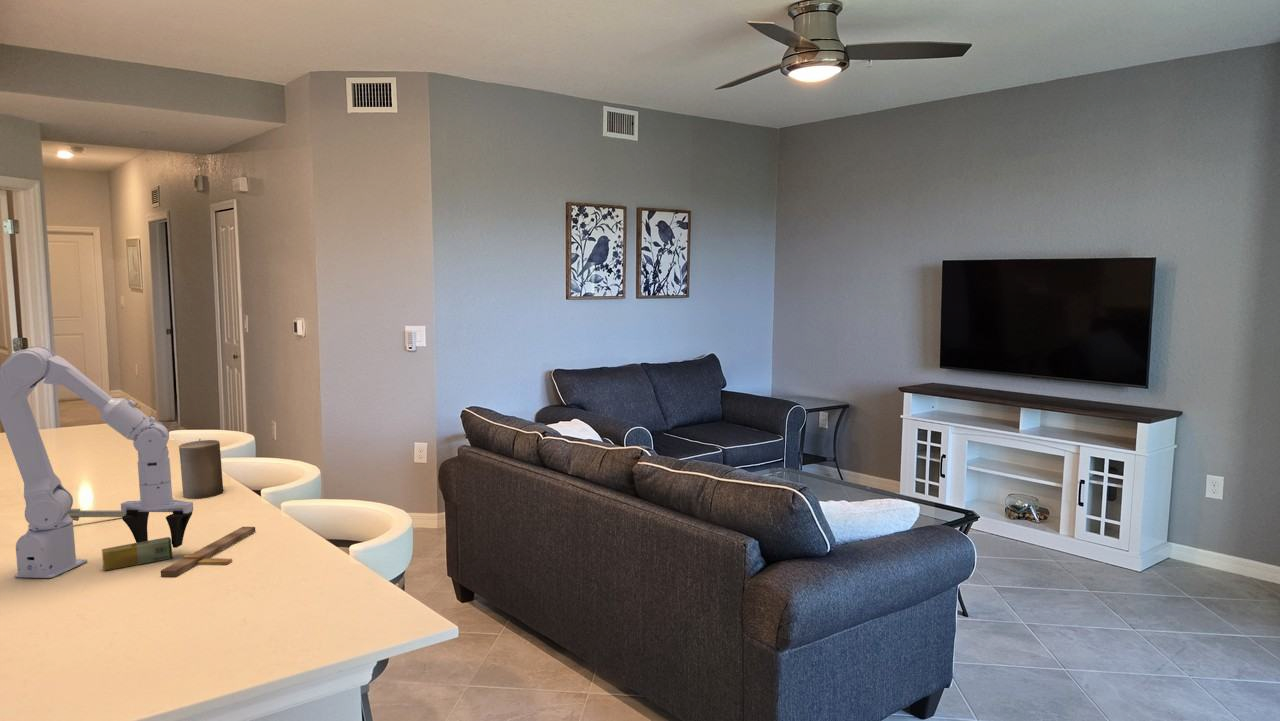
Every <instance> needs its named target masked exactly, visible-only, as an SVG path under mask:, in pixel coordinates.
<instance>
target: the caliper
mask: <svg viewBox="0 0 1280 721" xmlns="http://www.w3.org/2000/svg"><path fill="white" fill-rule="evenodd" d="M67 513H68V514H69V516H70V517H71V518H72V519H73V521H79V520H80V518H122V517H123V516H124V515H126V513H122V512H121V509H119V510H116V509H115V510H111V509H110V510H108V509H107V510H106V509H105V510H103V509H102V510H99V509H98V510H94V509H93V510H88V509H87V510H81V508H71V509H70V510H69V511H68V512H67Z"/></svg>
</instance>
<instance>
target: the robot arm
mask: <svg viewBox="0 0 1280 721" xmlns="http://www.w3.org/2000/svg"><path fill="white" fill-rule="evenodd" d="M41 381H42V384H47V385H57V386H63V387H65V389H68V390H69V391H71V392H72V393H74V394H75V395H76V396H78V397H80V398H81V399H82V400H84V401H86V402H87V403H88V404H90V405H92V406H93V407H94V408H95V409H98V410H99V413H100V420H101V421H103V423H105V424H106V425H107V426H109V427H111V429H113V430H114V431H116V432H117V433H118V434H120V435H121V436H123V437H124V438H125V439H126V440H129V441H132V444H133V448H134V449H135V450H136V451H137V460H138V461H137V471H138V472H137V474H138V483H139V484H138V486H139V489H138V490H139V500H126V501H124V502H121V503H120V510H121V512H122V513H126V515H124V516H123V517H121V518H122V521H123V522H124V523H125V524H126V525H127V527H128V528H129V530H130V532H131V533H132V536H133V538H134V541H135V543H138V542H144V541H149V536H148V534H149V533H148V521H149V516H150V513H171V514H168V515H167V516H165V520H166V522H167V525H168V526H169V528H168V529H169V530H170V532H169V533H170V538H171V544H172V549H173V548H174V549H177V548H179V547H181V546H183V541H184V536H185V532H186V528H187V525H188V523H189V520H190V519H191V517H192V515H193V512H194V503H193V501H185V500H180V499H179V500H177V499H174V498H173V490H172V489H173V487H172V474H171V473H172V472H171V459H170V457H169V452H170V451H169V448H168V446H167V444H168V442H169V438H170V432H169V430H168V428H167V427H166V426H165V425H164V423H162V422H161V421H156V418H155V417H153V416H148V415H147V414H145V413H144V412H143V411H142V410H140V409H139V408H138V407H136V406H135V405H136V404H137V403H136V402H135V401H134V400H133V399H129V400H127V399H126V398H123V397H117V398H114V397H112V396H110V395H109V394H108V393H107V392H105V390H103V389H102V388H101V387H99V385H97V384H96V383H95V382H93V381H92V380H91V379H90V378H88V376H86V375H85V374H84V373H82V372H81V371H80V370H79V369H78V368H76V366H74V365H72V364H71V363H70V362H69V361H68V360H66V359H65V358H63V357H61V356H60V355H57V354H56V355H55V353H54V351H52V350H50V349H49V348H47V347H46V346H40V345H35V346H29V347H28V348H25V349H20V350H17V351H15V352H13V353H12V354H11V355H10V356H8V358H6V360H5V361H4V362H3V363H2V364H1V365H0V422H1V424H2V428H3V430H4V433H5V435H6V439H7V440H8V443H9V447H10V449H11V451H12V454H13V457H14V460H15V462H16V465H17V467H18V468H17V469H18V470H19V473H20V476H21V479H22V482H23V499H24V500H25V508H24V518H25V521H26V523H28V526H27V527H28V528H27V531H26V533H25V534H23V535H21V536H20V537H19V538H18V539H17V541H16V543H15V555H16V556H15V558H16V567H17V573H15V574H13V575H14V576H13V577H14V578H36V579H40V578H42V579H53V578H54V577H57V576H59V575H61V574H63V573H65V572H68V571H70V570H72V569H74V568H77V567H78V566H80V565H83V564H85V563H88V559H86V558H77V556H76V541H75V533H74V532H75V531H74V520H73V519H72V518H71V517H70V516H69V514H68V513H67V512H68V511H69V510H70V509H72V507H73V504H74V499H73V495H72V494H71V492H70V491H69V490H67V488H65V487H64V486H63V484H62V482H61V479H60V478H59V477H58V476H57V474H56V473H55V472H54V470H53V467H52V463H51V460H50V459H49V455H48V453H47V450H46V447H45V444H44V442H43V441H44V440H43V439H42V437H41V433H40V430H39V427H38V425H37V422H36V420H35V417H34V414H33V412H32V408H31V406H30V402H29V400H28V397H29V396H30V394H31V393H32V392H33V390H35V388H36V387H37V384H38V383H40V382H41Z"/></svg>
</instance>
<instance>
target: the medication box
mask: <svg viewBox="0 0 1280 721" xmlns="http://www.w3.org/2000/svg"><path fill="white" fill-rule="evenodd" d="M101 556H102V557H101V558H102V568H103V570H104V572H106V571H111V570H116V569H122V568H128V567H132V566H137V565H143V564H148V563H154V562H158V561H163V560H164V561H165V560H169V559H173V546H172V540H171V536H167V537H166V536H165V537H161V538H155V539H150V540H149V539H148V541H144V542H138V543H136V542H134V543H128V544H123V545H117V546H111V547H106V548H103V549H101Z"/></svg>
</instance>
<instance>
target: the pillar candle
mask: <svg viewBox="0 0 1280 721" xmlns="http://www.w3.org/2000/svg"><path fill="white" fill-rule="evenodd" d="M220 444H221V442H220V440H216V439H208V440H207V439H205V440H204V439H203V440H201V438H198V440H195V441H189V442H184V443H182V444H180V445H178V448H179V462H180V463H179V464H180V472H181V473H180V474H181V475H180V476H181V484H182V495H183V496H182V497H184V498H185V499H191V498H192V499H202V498H209V497H214V496H217V495H221V494H223V493H224V492H225V490H224V485H223V484H224V483H223V480H224V479H223V470H222V457H221V456H222V454H221V445H220ZM223 491H224V492H223ZM220 493H221V494H220Z"/></svg>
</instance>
